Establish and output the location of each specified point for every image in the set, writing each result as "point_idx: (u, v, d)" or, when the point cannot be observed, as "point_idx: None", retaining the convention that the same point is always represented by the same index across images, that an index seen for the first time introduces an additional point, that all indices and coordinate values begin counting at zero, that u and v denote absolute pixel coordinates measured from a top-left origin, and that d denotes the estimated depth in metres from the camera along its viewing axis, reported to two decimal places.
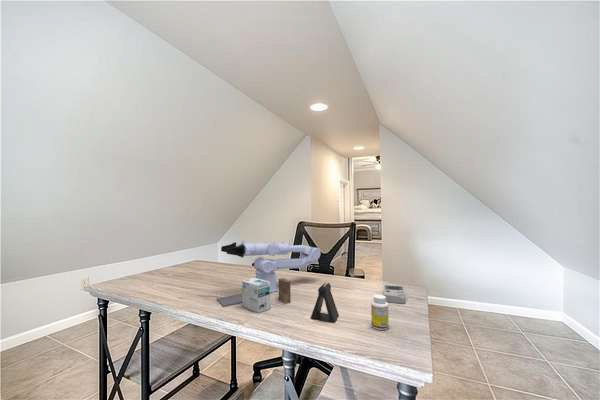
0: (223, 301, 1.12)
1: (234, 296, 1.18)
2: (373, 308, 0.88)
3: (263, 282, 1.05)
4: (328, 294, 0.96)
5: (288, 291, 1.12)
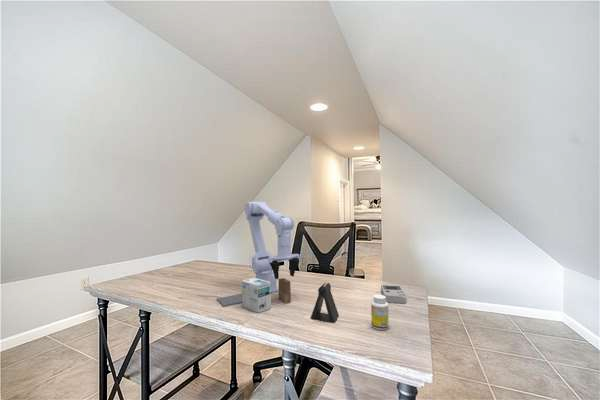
0: (223, 301, 1.12)
1: (234, 296, 1.18)
2: (373, 308, 0.88)
3: (263, 282, 1.05)
4: (328, 294, 0.96)
5: (288, 291, 1.12)
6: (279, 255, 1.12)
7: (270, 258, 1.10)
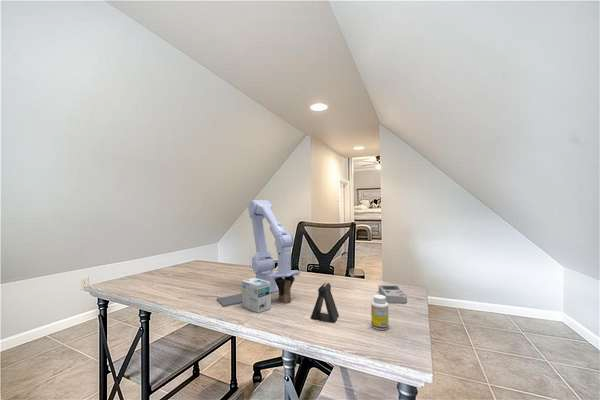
0: (223, 301, 1.12)
1: (234, 296, 1.18)
2: (373, 308, 0.88)
3: (263, 282, 1.05)
4: (328, 294, 0.96)
5: (288, 291, 1.12)
6: (279, 272, 1.12)
7: (270, 276, 1.09)
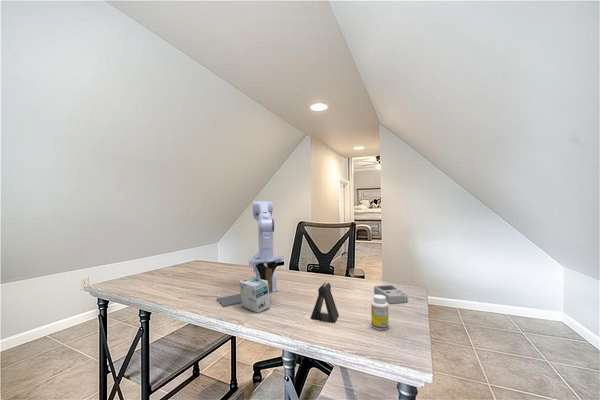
0: (223, 301, 1.12)
1: (234, 296, 1.18)
2: (373, 308, 0.88)
3: (260, 282, 1.04)
4: (328, 294, 0.96)
5: (270, 279, 1.07)
6: (260, 258, 1.08)
7: (251, 261, 1.05)
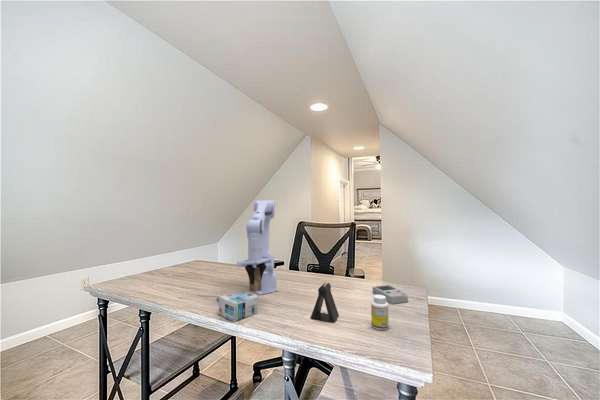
0: None
1: None
2: (373, 308, 0.88)
3: (231, 309, 0.94)
4: (328, 294, 0.96)
5: (258, 277, 1.05)
6: (249, 259, 1.05)
7: (239, 263, 1.02)
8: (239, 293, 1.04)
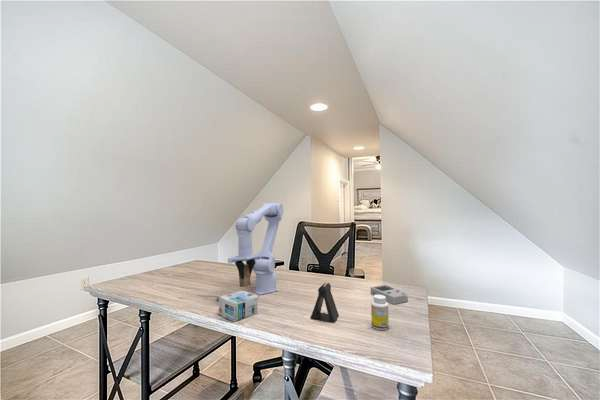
0: None
1: None
2: (373, 308, 0.88)
3: (231, 309, 0.94)
4: (328, 294, 0.96)
5: (247, 274, 1.12)
6: (239, 256, 1.11)
7: (229, 259, 1.09)
8: (239, 293, 1.04)
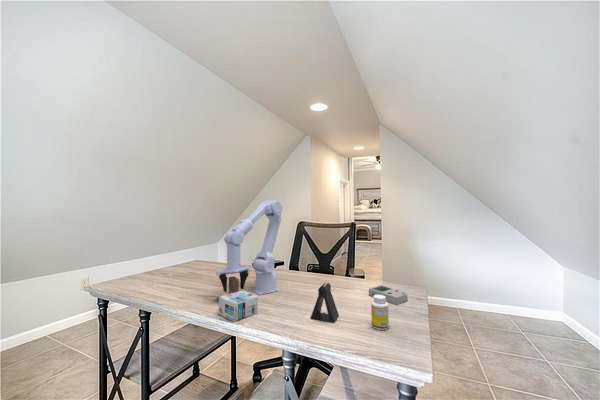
0: None
1: None
2: (373, 308, 0.88)
3: (231, 309, 0.94)
4: (328, 294, 0.96)
5: (236, 289, 1.13)
6: (228, 268, 1.13)
7: (217, 272, 1.11)
8: (239, 293, 1.04)
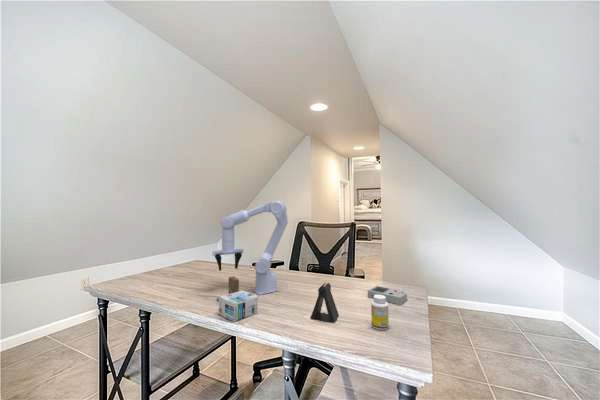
0: None
1: None
2: (373, 308, 0.88)
3: (231, 309, 0.94)
4: (328, 294, 0.96)
5: (236, 289, 1.13)
6: (222, 249, 1.27)
7: (213, 252, 1.24)
8: (239, 293, 1.04)
